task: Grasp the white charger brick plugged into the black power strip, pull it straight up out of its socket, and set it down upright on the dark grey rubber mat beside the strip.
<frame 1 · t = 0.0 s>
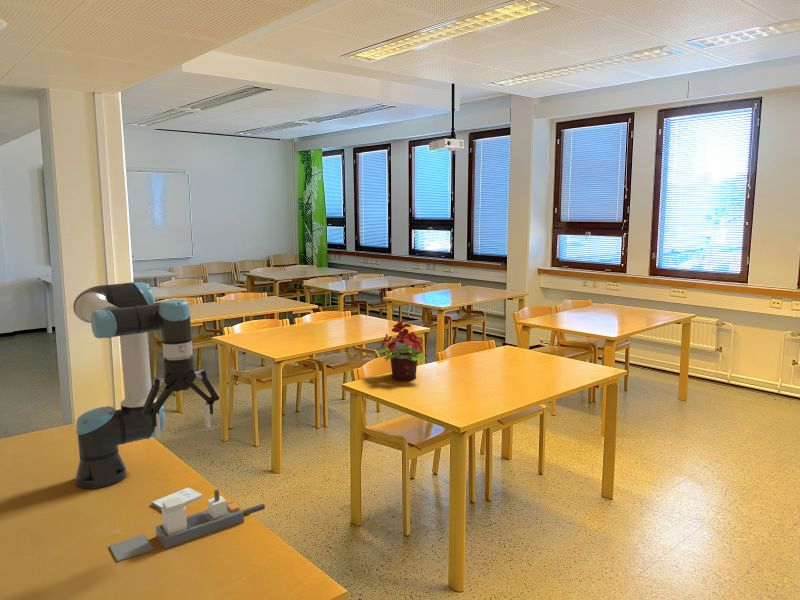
hand: (183, 431, 168), 28 cm above the table, fingers open, 13 cm apart
external hard drive: (177, 503, 187), on the table
potted plant: (399, 378, 315), on the table
charger: (175, 531, 166), point 2 cm above the table, touching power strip
mat: (131, 548, 162), on the table
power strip: (201, 529, 171), on the table
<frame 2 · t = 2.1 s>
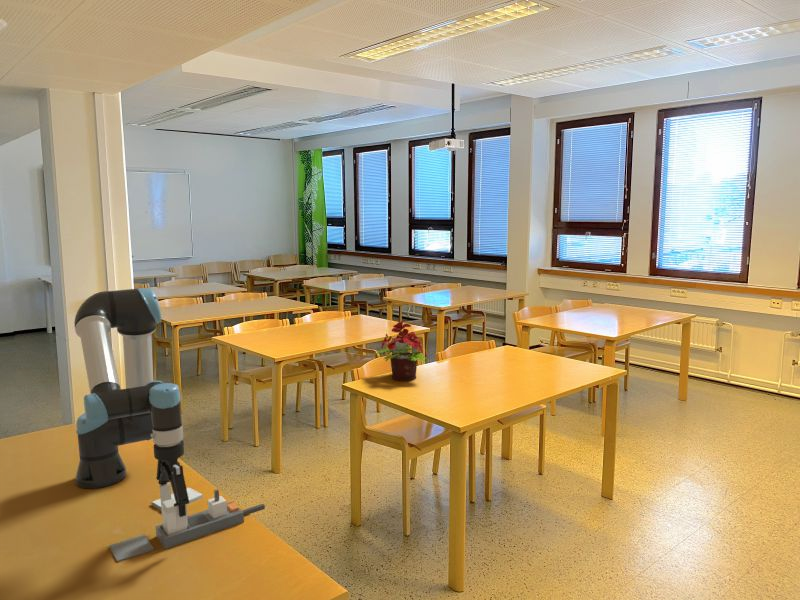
hand: (174, 516, 166), 6 cm above the table, fingers open, 13 cm apart
nothing on the table moved.
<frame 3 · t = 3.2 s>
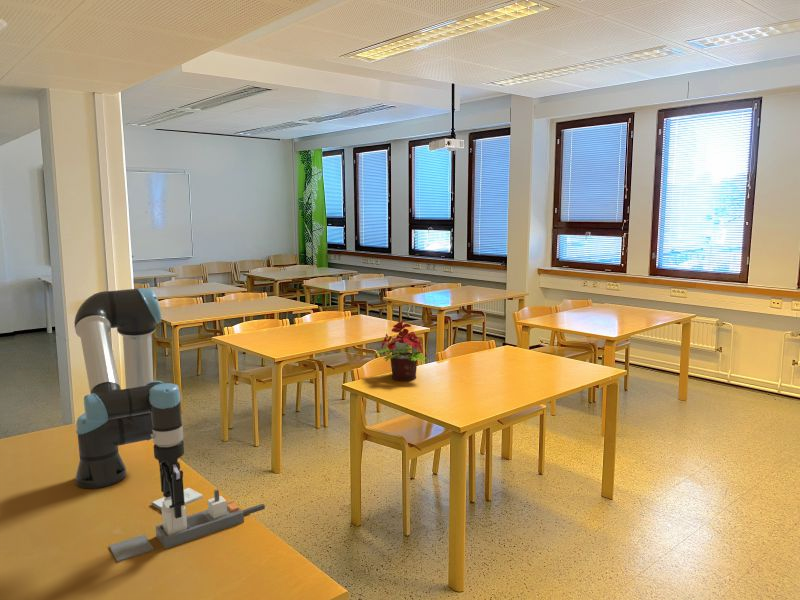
hand: (174, 523, 166), 4 cm above the table, fingers closed on charger, 5 cm apart
charger: (175, 531, 166), point 2 cm above the table, touching gripper, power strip
everything else where it was.
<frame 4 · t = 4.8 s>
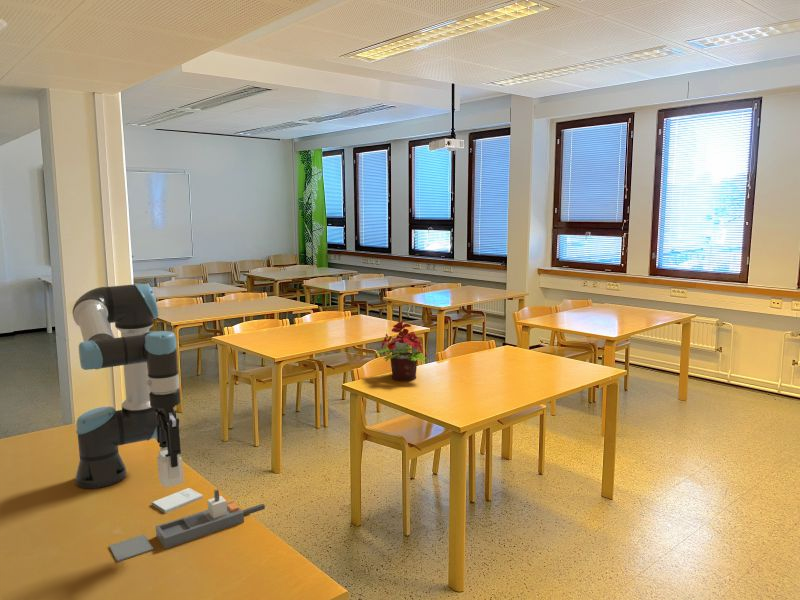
hand: (170, 473, 164), 19 cm above the table, fingers closed on charger, 5 cm apart
charger: (171, 482, 164), point 16 cm above the table, touching gripper
everything else where it was.
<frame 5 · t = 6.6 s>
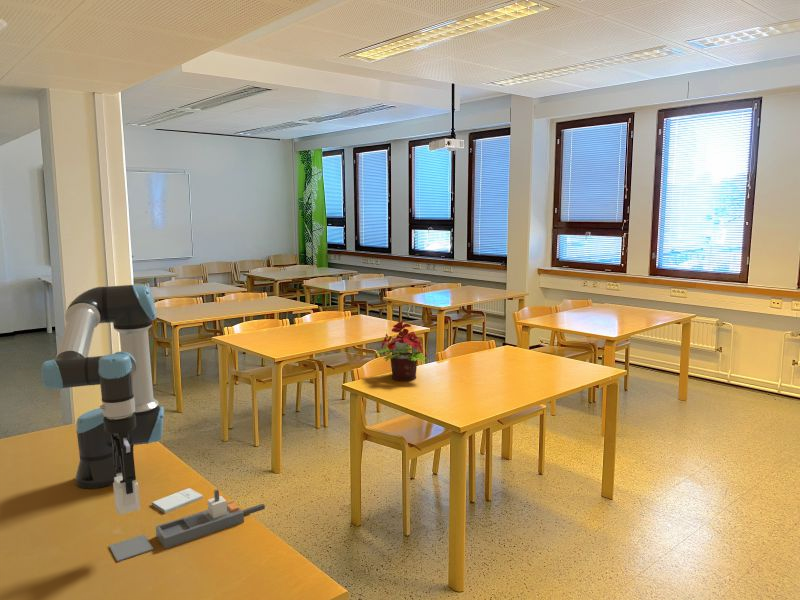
hand: (126, 499, 159), 14 cm above the table, fingers closed on charger, 5 cm apart
charger: (127, 508, 160), point 11 cm above the table, touching gripper
everything else where it was.
when the fingers open (5 cm above the table, at t = 8.8 s): charger drops 2 cm, resting on mat.
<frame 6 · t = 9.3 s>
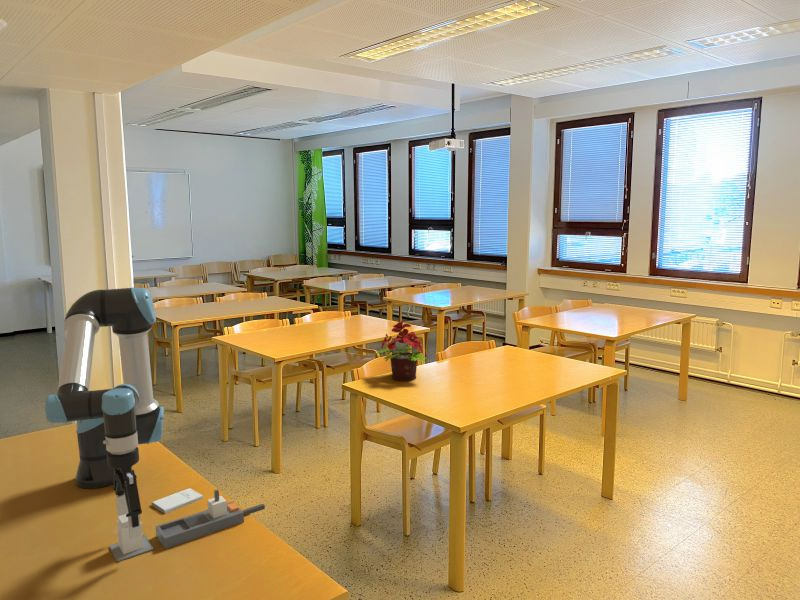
hand: (129, 527, 161), 6 cm above the table, fingers open, 11 cm apart
charger: (131, 546, 162), resting on mat
everything else where it was.
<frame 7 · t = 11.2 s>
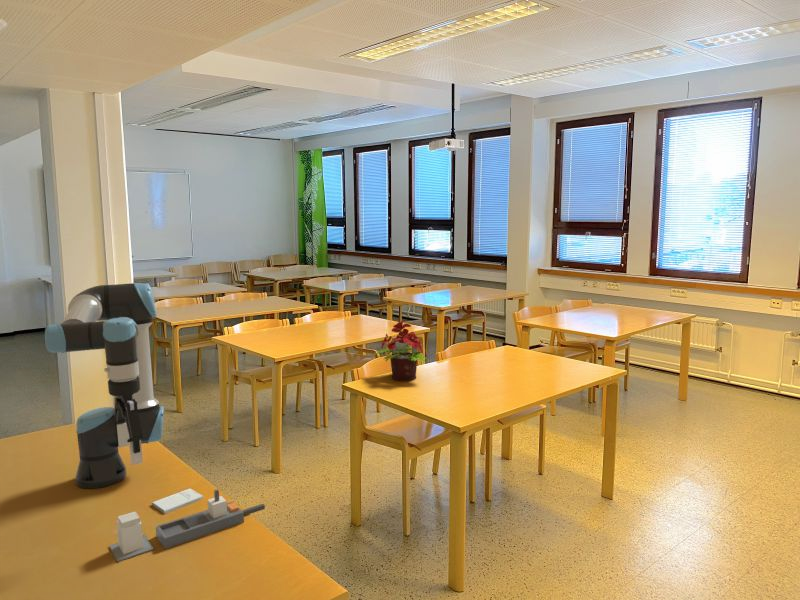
hand: (130, 454, 162), 24 cm above the table, fingers open, 13 cm apart
nothing on the table moved.
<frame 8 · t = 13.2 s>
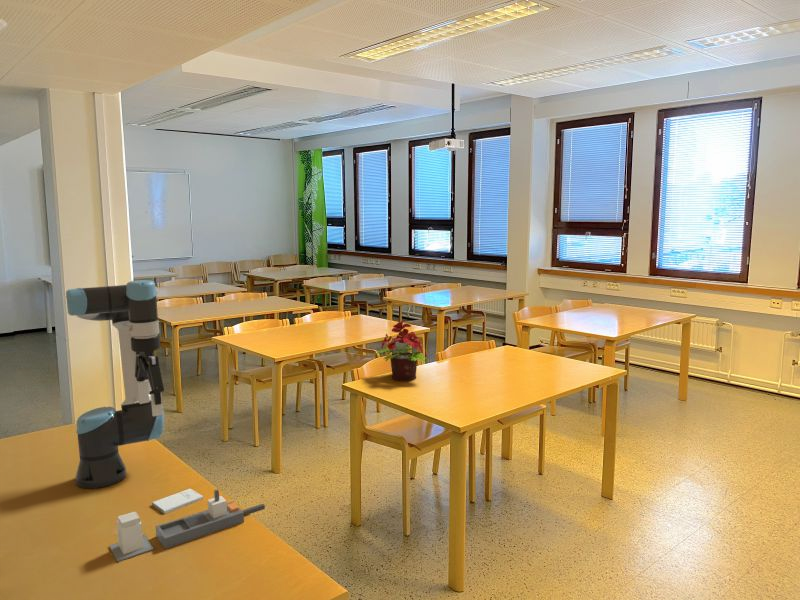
hand: (151, 408, 173), 33 cm above the table, fingers open, 13 cm apart
nothing on the table moved.
at the end: charger inside the target area on the mat (0.0 cm from its centre), point 0.4 cm above the mat's base; charger tilted 0°; the gripper is holding nothing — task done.
